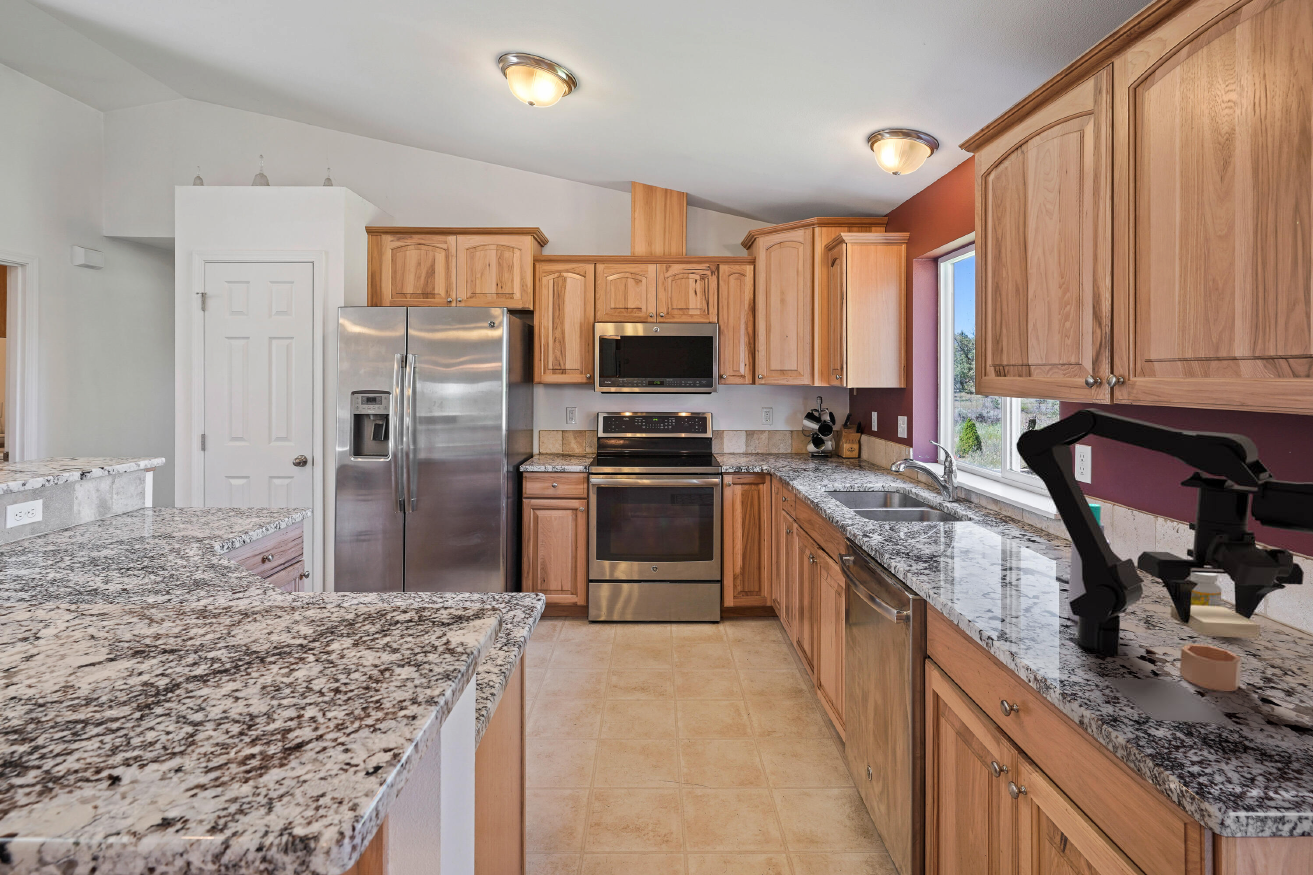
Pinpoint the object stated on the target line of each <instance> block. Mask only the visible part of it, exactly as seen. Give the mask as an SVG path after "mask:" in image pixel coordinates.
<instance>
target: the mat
mask: <svg viewBox="0 0 1313 875" xmlns="http://www.w3.org/2000/svg"><path fill="white" fill-rule="evenodd" d="M1103 679H1104V680H1105V681H1106V682H1108V684H1110V685H1111V686H1113V688H1114V689H1116V690H1117V691H1118V692H1120V693H1121V694H1122V695H1123V696H1125V697H1126V699H1128V700H1129V701H1130V703H1132V704H1133V705H1135V706H1136V707H1137V708H1138V709H1139V710H1140V711H1142V712H1143V713H1144V714H1146V716H1148V717H1149V719H1151V720H1153V721H1164V722H1179V723H1180V722H1182V723H1193V724H1194V723H1196V724H1197V723H1198V724H1210V725H1211V724H1212V725H1213V724H1214V725H1215V724H1216V725H1228V726H1229V725H1231V726H1237V724H1236V723H1235V722H1233V721H1232V720H1231V719H1230V718H1228V717H1227V716H1225V715H1224V714H1223V713H1221V712H1220V711H1219V710H1217V709H1216V708H1214V707H1213V706H1211V705H1210V704H1209V703H1208V702H1206V701H1204V699H1201V697H1199V696H1197V695H1196V694H1194V693H1193V692H1192V691H1191V690H1189V689H1188V688H1187V687H1185V686H1184V685H1182V684H1181V683H1179V682H1178V681H1174V680H1170V681H1169V680H1156V679H1155V680H1153V679H1152V680H1151V679H1137V678H1136V679H1135V678H1132V679H1131V678H1117V677H1116V678H1115V677H1103Z"/></svg>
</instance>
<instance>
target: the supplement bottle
mask: <svg viewBox="0 0 1313 875" xmlns="http://www.w3.org/2000/svg"><path fill="white" fill-rule="evenodd" d="M1191 580H1192V581H1194V582H1196V583H1198V585H1197V586H1196V587H1195V588H1194V589H1193V590H1192V593H1191V605H1199V606H1221V602H1222V588H1221V586H1220V585H1219V584H1217V581H1218V573H1191Z"/></svg>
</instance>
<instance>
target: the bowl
mask: <svg viewBox="0 0 1313 875" xmlns="http://www.w3.org/2000/svg"><path fill="white" fill-rule="evenodd" d="M1180 650H1181V651H1180V665H1179V674H1180V675H1181V677H1182V679H1184V680H1186V681H1187V682H1189V683H1191V684H1193V685H1196V686H1198V687H1201V688H1205V689H1209V690H1212V691H1213V690H1214V691H1220V692H1234V691H1237V690H1238V688H1239V686H1240V685H1241V674H1242V663H1243V662H1242V661H1243V657H1240V656H1238V655H1237V654H1235V653H1234V652H1232V651H1230V650H1227V649H1223V648H1219V647H1215V646H1211V645H1208V644H1193V643H1192V644H1190V643H1187V644H1185V645H1184V646H1183V647H1182V648H1181V649H1180Z"/></svg>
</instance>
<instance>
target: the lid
mask: <svg viewBox="0 0 1313 875" xmlns="http://www.w3.org/2000/svg"><path fill="white" fill-rule="evenodd" d="M1170 618H1172V619H1173V620H1175V621H1177V622H1179V623H1180V624H1181V625H1184V626H1186V627H1187V628H1189V629H1190V630H1192V631H1194V632H1196V633H1198V634H1199V635H1201V636H1202V637H1203V636H1205V637H1226V638H1242V639H1244V638H1245V639H1246V638H1248V639H1249V638H1250V639H1260V631H1261V624H1260V623H1258V622H1255V621H1254V620H1252V619H1251V618H1250V619H1248V618H1246V617H1244V616H1242V615H1239V614H1237V613H1235V610H1234V611H1233V610H1231V609H1230V608H1228V607H1226V606H1199V605H1191V611H1190V618H1189V623H1184V622H1182V621H1181V619H1180V617H1179V615H1178V613H1177V610H1176V608H1175V606H1174V604H1171V605H1170Z"/></svg>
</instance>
